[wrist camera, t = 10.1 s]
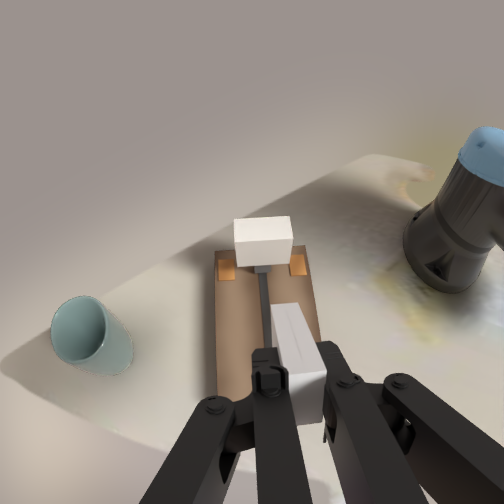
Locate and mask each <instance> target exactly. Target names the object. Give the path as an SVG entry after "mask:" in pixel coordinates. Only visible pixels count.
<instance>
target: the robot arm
mask: <svg viewBox="0 0 504 504" xmlns="http://www.w3.org/2000/svg"><path fill="white" fill-rule="evenodd" d="M495 244H497V245H498V246H499V247H500V248H501V249H502V250H503V251H504V131H503V130H501V129H498V128H494V127H487V126H486V127H479V128H477V129H475V130H474V131H473V132H472V133H471V134H470V136H469V137H468V140H467V141H466V143H465V145H464V146H463V147H462V148H461V149H460V151H459V153H458V159H457V161H456V163H455V165H454V166H453V168H452V170H451V172H450V174H449V176H448V178H447V179H446V181H445V183H444V185H443V186H442V188H441V190H440V191H439V193H438V195H437V197H436V198H435V199H434V200H433V201H432V202H431V203H429V204H428V205H426V206H425V207H424V208H422V209H421V210H420V211H418V212H417V213H416V214H415V215H414V216H413V217H412V218H411V220H410V221H409V223H408V225H407V227H406V229H405V231H404V235H403V246H404V251H405V254H406V257H407V259H408V261H409V263H410V265H411V267H412V268H413V270H414V271H415V272H416V274H417V275H418V276H419V277H420V278H421V279H422V280H423V281H424V282H426V283H427V284H428V285H430V286H431V287H433V288H435V289H437V290H439V291H442V292H446V293H458V292H461V291H464V290H465V289H467V288H468V287H469V286H470V285H471V284H472V283H473V282H474V281H475V280H476V279H477V278H478V276H479V274H480V272H481V269H482V267H483V265H484V263H485V261H486V258H487V256H488V253H489V251H490V250H491V249H492V248H493V247H494V245H495ZM271 328H272V347H270V348H257V349H255V350H254V352H253V353H252V354H251V359H252V374H251V380H252V391H251V393H250V394H249V395H248V396H247V397H245V398H244V399H241V400H238V401H235V402H232V400H230V399H229V398H227V397H223V396H211V397H207V398H205V399H203V400H201V401H200V402H199V403H198V405H197V406H196V408H195V410H194V412H193V413H192V415H191V417H190V419H189V420H188V422H187V424H186V425H185V427H184V429H183V431H182V432H181V434H180V436H179V437H178V439H177V441H176V443H175V444H174V446H173V448H172V449H171V451H170V453H169V454H168V456H167V458H166V460H165V461H164V463H163V465H162V466H161V468H160V470H159V471H158V473H157V475H156V476H155V478H154V480H153V481H152V483H151V484H150V486H149V488H148V489H147V491H146V493H145V494H144V496H143V498H142V499H141V501H140V503H139V504H223V501H224V498H225V496H226V493H227V490H228V487H229V485H230V482H231V479H232V476H233V474H234V471H235V468H236V465H237V462H238V460H239V457H240V452H241V451H245V450H248V449H251V448H255V453H256V472H257V490H258V504H313V503H312V498H311V493H310V489H309V483H308V479H307V474H306V469H305V464H304V459H303V455H302V450H301V445H300V440H299V435H298V431H297V426H298V425H306V424H313V423H320V422H322V419H323V415H324V418H325V429H324V437H323V443H325V442H326V438H327V440H328V443H329V447H330V450H331V453H332V457H333V460H334V463H335V467H336V470H337V474H338V477H339V480H340V484H341V487H342V491H343V494H344V498H345V501H346V504H429V503H428V501H427V499H426V497H425V495H424V493H423V491H422V489H421V487H420V485H421V486H422V487H423V489H424V490H425V491H426V492H427V493H428V494H429V495H430V496H431V497H432V498H433V499H434V500H435V501H436V502H437V503H438V504H504V447H502V446H501V445H500V444H499V443H497V442H496V441H495V440H493V439H492V438H491V437H490V436H488V435H487V434H486V433H484V432H483V431H482V430H480V429H479V428H478V427H477V426H475V425H474V424H473V423H471V422H470V421H469V420H468V419H466V418H465V417H464V416H462V415H461V414H460V413H459V412H457V411H456V410H455V409H453V408H452V407H451V406H449V405H448V404H447V403H446V402H444V401H443V400H442V399H440V398H439V397H438V396H437V395H435V394H434V393H433V392H431V391H430V390H429V389H428V388H426V387H425V386H424V385H422V384H421V383H420V382H418V381H417V380H416V379H415V378H413V377H412V376H410V375H408V374H404V373H394V374H390V375H389V376H387V377H386V378H385V380H384V383H383V384H373V383H366V382H364V380H363V379H362V378H361V377H360V376H359V375H357V374H355V373H352V372H351V370H350V368H349V366H348V364H347V362H346V360H345V359H344V358H343V355H342V353H341V351H340V349H339V348H338V346H337V345H336V344H334V343H333V342H332V341H323V342H315V341H314V339H313V337H312V334H311V332H310V330H309V327H308V325H307V323H306V320H305V318H304V316H303V313H302V311H301V309H300V306H299V304H298V302H297V303H285V304H273V305H271ZM406 419H407V420H408V421H409V422H410V423H409V422H408V421H407V420H406ZM419 484H420V485H419Z"/></svg>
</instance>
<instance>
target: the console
mask: <svg viewBox="0 0 504 504" xmlns="http://www.w3.org/2000/svg"><path fill="white" fill-rule="evenodd" d="M297 302H298V304H299V306H300V309H301V311H302V313H303V316H304V318H305V320H306V323H307V325H308V327H309V330H310V332H311V334H312V337H313V339H314V341H315V342H321V336H320V330H319V323H318V317H317V311H316V304H315V298H314V292H313V287H312V281H311V275H310V269H309V264H308V258H307V253H306V248H305V245H304V246H292V250H291V256H290V262H289V264H275V265H271V272H267V273H255V271H254V266H244V267H237V259H236V251H235V250H225V251H215V329H216V365H217V392H218V396H223V397H227V398H229V399H230V400H232V402H235V401H238V400H241V399H244V398H245V397H247V396H248V395H249V394H250V393H251V391H252V380H251V374H252V359H251V354H252V353H253V352H254V350H255V349H257V348H270V347H272V328H271V305H273V304H285V303H297Z"/></svg>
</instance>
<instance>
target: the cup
mask: <svg viewBox="0 0 504 504" xmlns="http://www.w3.org/2000/svg"><path fill="white" fill-rule="evenodd" d="M51 341H52V345H53V348H54V351H55V352H56V354H57V355H58V357H59V358H60V359H61V360H62V361H64V362H66V363H67V364H69V365H71V366H73V367H75V368H77V369H80V370H82V371H84V372H87V373H90V374H93V375H98V376H114V375H117V374H120V373H122V372H123V371H125V370H126V369H127V368H128V367H129V365H130V364H131V362H132V359H133V355H134V348H133V342H132V339H131V336H130V334H129V333H128V331H127V329H126V328H125V326H124V325H123V324H122V323H121V322H120V320H119V319H118V318H117V317H116V316H115V315H114V314H113V313H112V312H111V311H110V310H109V309H108V308H107V307H106V306H104V305H103V304H102V303H101V302H100V301H98V300H97V299H95V298H93V297H89V296H79V297H75V298H73V299H70V300H68V301H67V302H65V303H64V304H63V305H62V306H61V307H60V308H59V309H58V310H57V312H56V313H55V315H54V317H53V320H52V324H51Z"/></svg>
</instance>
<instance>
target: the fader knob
mask: <svg viewBox="0 0 504 504" xmlns="http://www.w3.org/2000/svg"><path fill="white" fill-rule="evenodd" d="M234 242H235V251H236V259H237V267H244V266H254V271H255V273H267V272H271V265H275V264H289V262H290V256H291V250H292V244H293V233H292V228H291V222H290V216H278V217H260V218H244V219H234Z"/></svg>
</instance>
